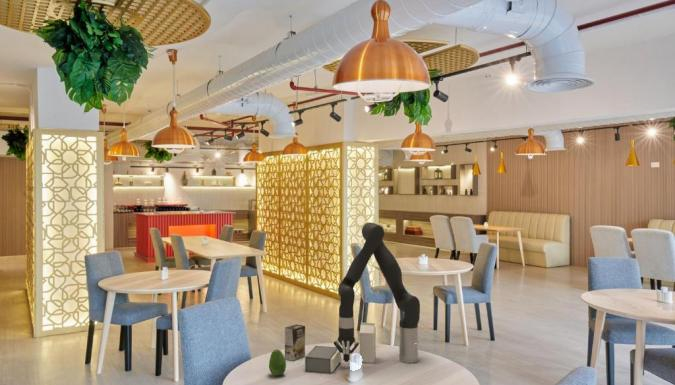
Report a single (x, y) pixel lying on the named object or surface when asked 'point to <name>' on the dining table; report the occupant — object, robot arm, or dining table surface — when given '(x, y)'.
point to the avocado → (277, 363)
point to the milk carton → (368, 342)
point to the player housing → (319, 359)
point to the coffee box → (294, 342)
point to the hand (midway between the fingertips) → (346, 361)
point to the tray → (335, 360)
